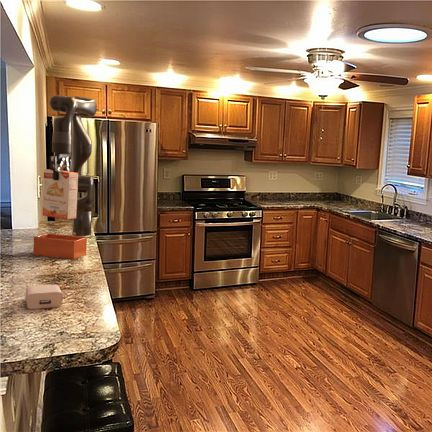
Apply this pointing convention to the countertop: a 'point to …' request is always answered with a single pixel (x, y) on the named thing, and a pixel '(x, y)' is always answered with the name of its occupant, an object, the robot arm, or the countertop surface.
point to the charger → (43, 296)
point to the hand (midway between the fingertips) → (60, 179)
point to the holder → (60, 246)
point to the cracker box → (60, 195)
